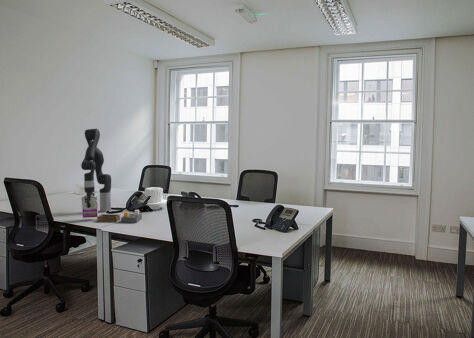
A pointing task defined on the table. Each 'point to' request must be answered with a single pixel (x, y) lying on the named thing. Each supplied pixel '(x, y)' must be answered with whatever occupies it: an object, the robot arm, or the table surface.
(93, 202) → the candy bar box
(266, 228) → the table surface
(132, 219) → the breaker panel
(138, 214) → the breaker
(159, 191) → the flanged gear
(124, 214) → the breaker tagged
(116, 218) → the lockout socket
